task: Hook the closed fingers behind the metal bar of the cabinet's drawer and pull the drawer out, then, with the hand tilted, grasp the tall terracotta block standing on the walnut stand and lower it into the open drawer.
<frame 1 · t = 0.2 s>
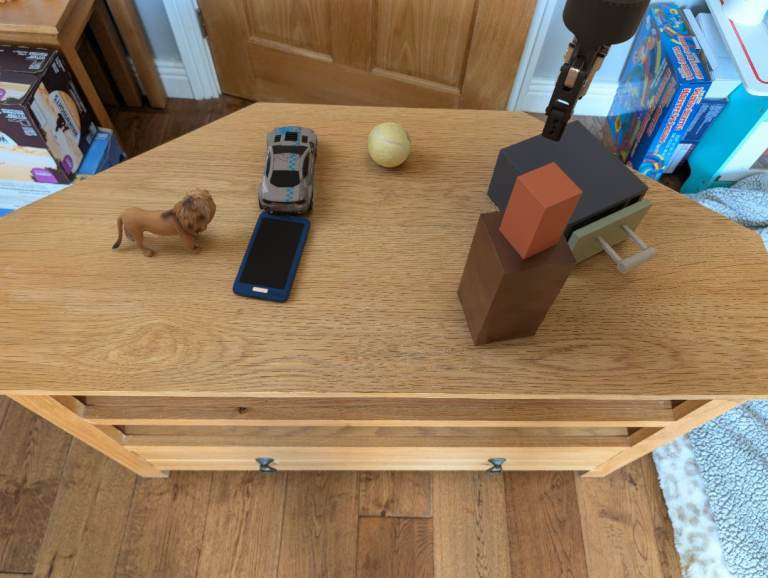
hand: (562, 116, 66), 18 cm above the tv stand, tool pointing down, fingers open, 8 cm apart
block: (527, 237, 59), point 16 cm above the tv stand, touching stand
lion figurine: (174, 242, 76), on the tv stand
tennis ball: (387, 162, 86), on the tv stand
cell phone: (273, 257, 75), on the tv stand, touching toy car
stand: (495, 313, 72), on the tv stand
toy car: (290, 178, 83), on the tv stand, touching cell phone
cabinet: (553, 212, 82), on the tv stand
drawer: (587, 217, 76), point 4 cm above the tv stand, slide at 0.7 cm
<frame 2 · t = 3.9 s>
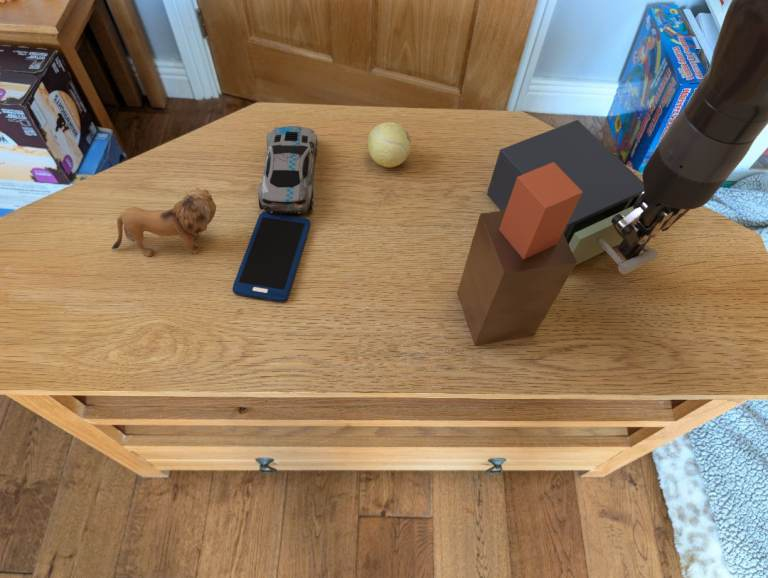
hand: (626, 253, 72), 5 cm above the tv stand, tool pointing down, fingers closed
drawer: (588, 218, 76), point 4 cm above the tv stand, slide at 0.9 cm, touching gripper
everything else where it was.
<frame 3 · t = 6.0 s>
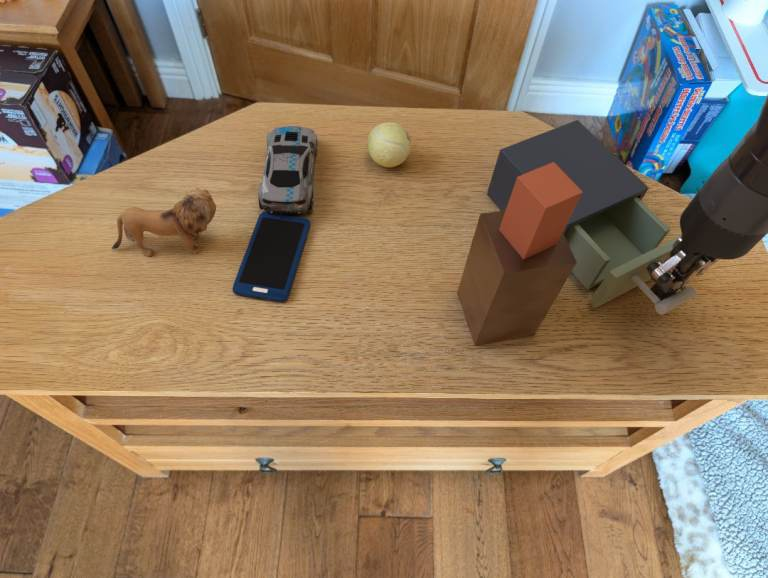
hand: (658, 295, 70), 4 cm above the tv stand, tool pointing down, fingers closed
drawer: (621, 253, 73), point 4 cm above the tv stand, slide at 7.5 cm
everything else where it was.
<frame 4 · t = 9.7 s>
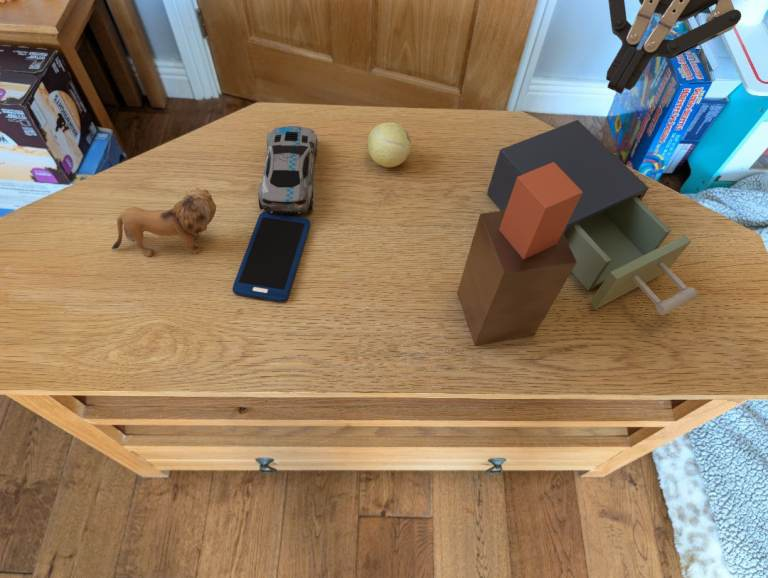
hand: (614, 89, 53), 29 cm above the tv stand, tool tilted 40°, fingers closed
nothing on the tv stand moved.
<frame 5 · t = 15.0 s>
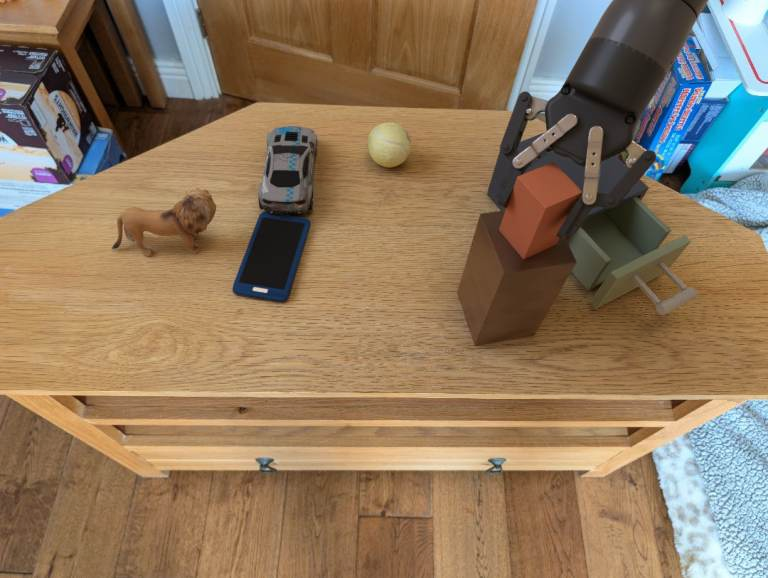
hand: (531, 221, 54), 20 cm above the tv stand, tool tilted 45°, fingers closed on block, 6 cm apart
block: (527, 237, 59), point 16 cm above the tv stand, touching gripper, stand
everything else where it was.
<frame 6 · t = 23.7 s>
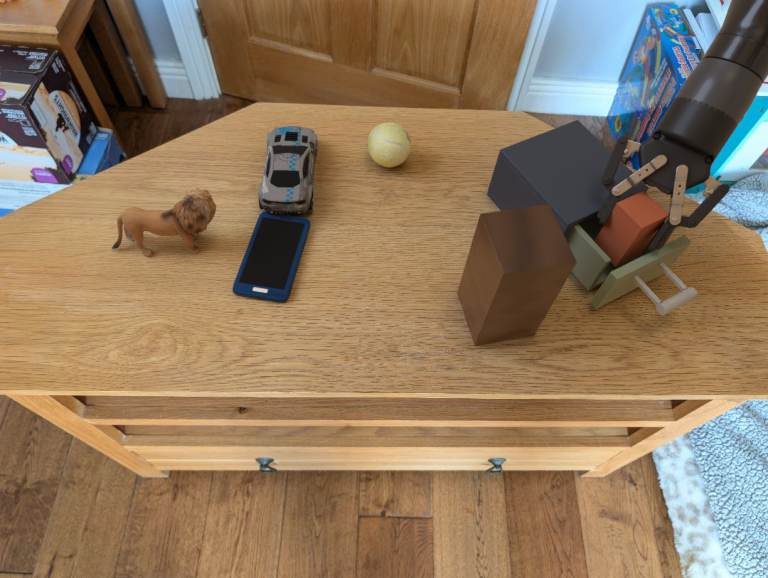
hand: (625, 237, 69), 9 cm above the tv stand, tool tilted 45°, fingers closed on block, 6 cm apart
block: (616, 248, 73), point 4 cm above the tv stand, touching gripper
everything else where it was.
when the fingers open (10 cm above the tv stand, at t = 32.5 s): block drops 3 cm, resting on drawer.
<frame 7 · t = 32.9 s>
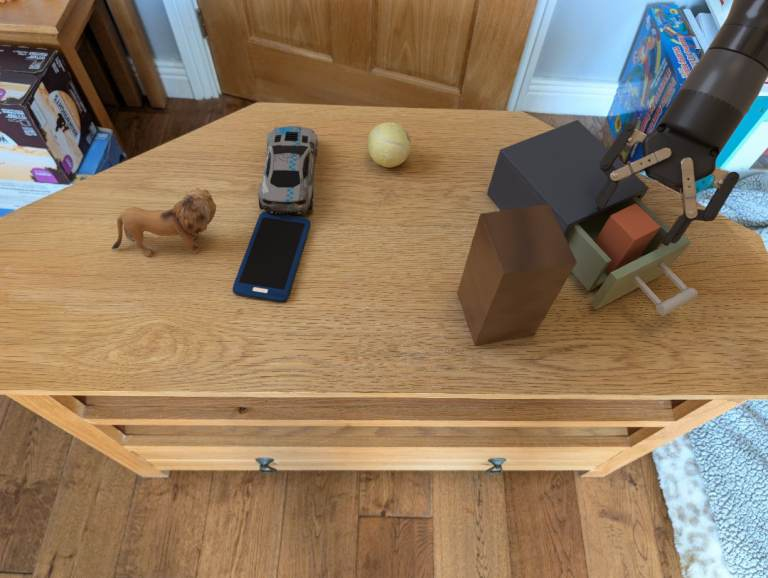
hand: (631, 227, 68), 10 cm above the tv stand, tool tilted 45°, fingers open, 8 cm apart
block: (610, 259, 75), point 2 cm above the tv stand, touching drawer
drawer: (622, 254, 73), point 4 cm above the tv stand, slide at 7.7 cm, touching block
everything else where it was.
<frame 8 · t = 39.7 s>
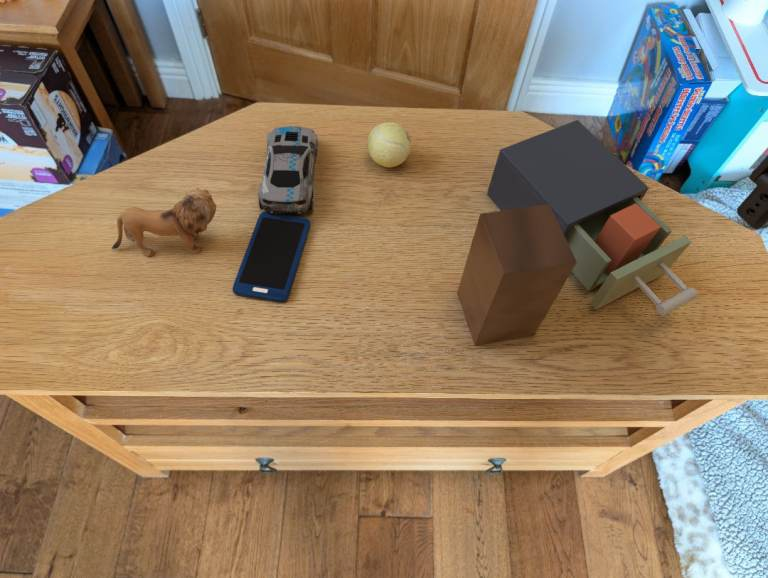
nothing on the tv stand moved.
at the end: drawer slide at 7.7 cm; block inside the target area in the drawer (0.5 cm from its centre), point 2.1 cm above the cabinet's base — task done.
